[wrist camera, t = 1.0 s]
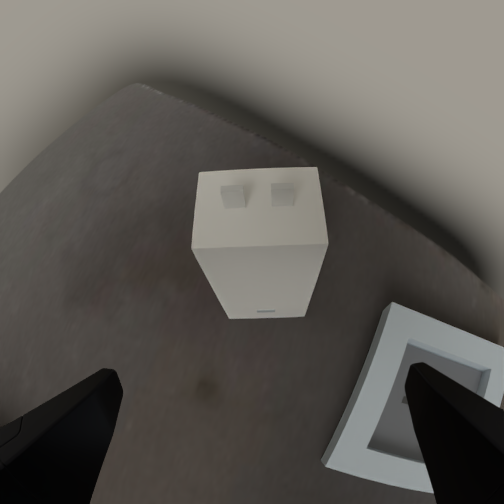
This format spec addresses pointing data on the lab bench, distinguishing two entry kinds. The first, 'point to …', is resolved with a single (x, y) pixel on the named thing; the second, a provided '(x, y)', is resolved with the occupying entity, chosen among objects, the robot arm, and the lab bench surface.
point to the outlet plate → (394, 398)
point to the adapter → (260, 239)
